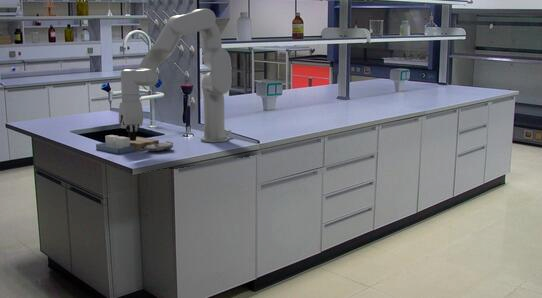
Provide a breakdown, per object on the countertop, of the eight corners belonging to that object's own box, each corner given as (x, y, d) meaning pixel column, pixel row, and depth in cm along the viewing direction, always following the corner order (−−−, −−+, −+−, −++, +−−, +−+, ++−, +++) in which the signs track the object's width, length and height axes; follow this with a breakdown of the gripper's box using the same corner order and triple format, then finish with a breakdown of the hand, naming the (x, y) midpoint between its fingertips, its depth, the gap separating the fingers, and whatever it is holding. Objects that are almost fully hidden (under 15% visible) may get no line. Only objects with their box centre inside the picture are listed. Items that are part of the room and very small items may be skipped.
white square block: (121, 136, 256) (115, 137, 253) (129, 137, 252) (123, 138, 249) (122, 148, 257) (115, 150, 254) (130, 150, 253) (123, 151, 250)
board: (137, 143, 273) (137, 136, 272) (159, 146, 264) (158, 140, 263) (112, 147, 262) (112, 140, 262) (133, 151, 253) (133, 144, 252)
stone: (151, 153, 247) (151, 146, 246) (141, 151, 254) (141, 143, 253) (176, 149, 254) (176, 142, 254) (166, 147, 261) (165, 139, 261)
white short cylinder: (111, 134, 260) (105, 135, 257) (119, 136, 256) (113, 137, 254) (112, 147, 261) (105, 148, 258) (120, 148, 257) (113, 149, 255)
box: (111, 147, 263) (111, 141, 262) (134, 151, 253) (134, 145, 252) (96, 149, 257) (96, 144, 256) (118, 154, 247) (118, 148, 246)
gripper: (139, 96, 261) (140, 137, 265) (110, 99, 250) (112, 141, 253) (150, 97, 257) (151, 139, 260) (121, 100, 245) (123, 143, 249)
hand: (132, 140), depth 257 cm, fingers closed
